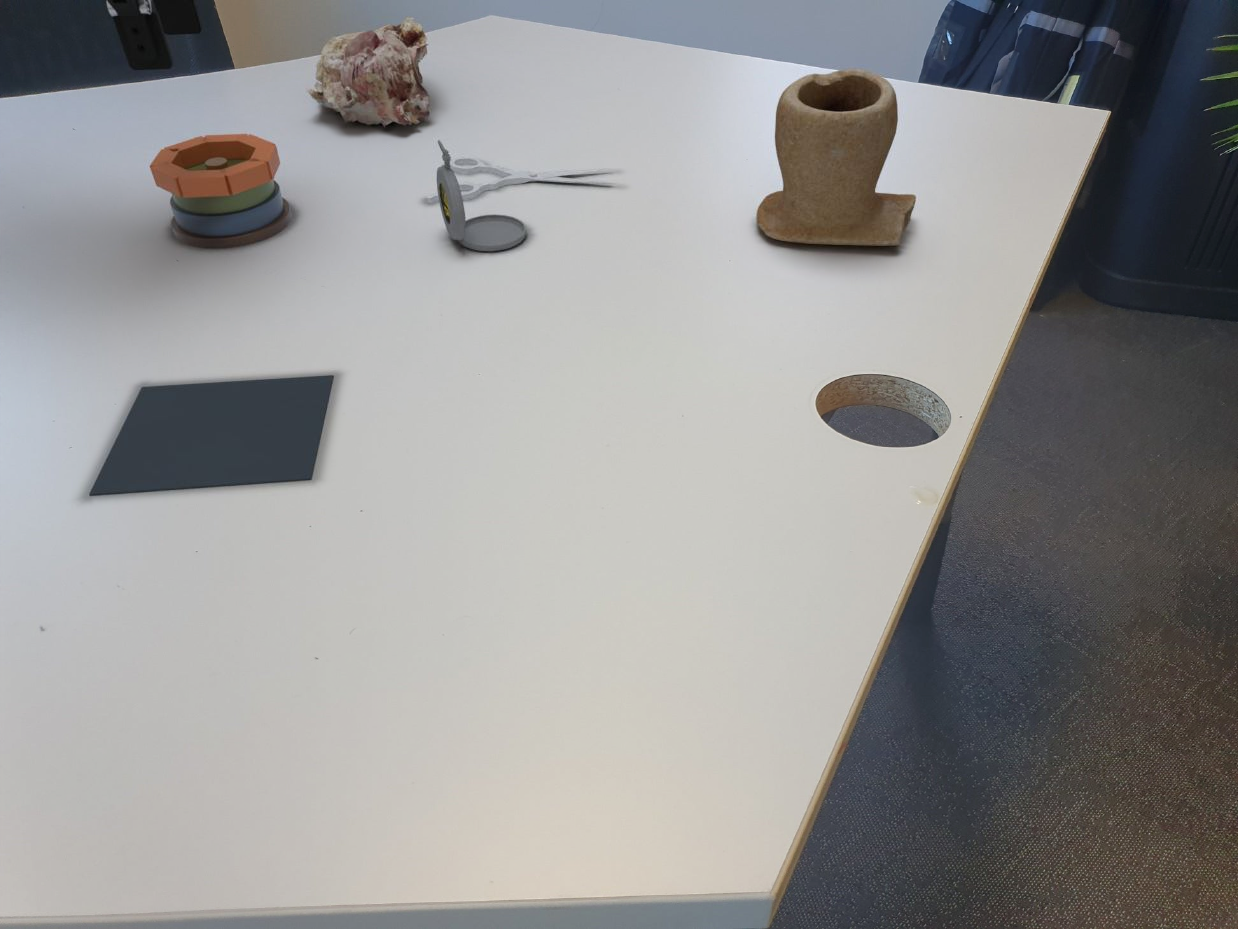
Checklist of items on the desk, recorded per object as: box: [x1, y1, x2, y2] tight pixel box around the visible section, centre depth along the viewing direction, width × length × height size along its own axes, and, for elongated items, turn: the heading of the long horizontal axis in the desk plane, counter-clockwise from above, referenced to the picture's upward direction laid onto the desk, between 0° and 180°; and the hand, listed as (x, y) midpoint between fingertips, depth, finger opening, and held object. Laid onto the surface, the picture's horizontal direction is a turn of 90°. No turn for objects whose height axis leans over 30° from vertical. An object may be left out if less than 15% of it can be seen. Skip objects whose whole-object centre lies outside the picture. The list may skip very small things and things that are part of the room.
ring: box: [149, 133, 281, 198], centre depth 85 cm, size 11×11×2 cm
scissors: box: [426, 156, 618, 204], centre depth 96 cm, size 11×1×20 cm
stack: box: [169, 158, 293, 250], centre depth 87 cm, size 11×11×6 cm
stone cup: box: [755, 68, 917, 247], centre depth 82 cm, size 15×12×15 cm
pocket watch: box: [436, 139, 527, 252], centre depth 83 cm, size 8×8×10 cm
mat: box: [88, 374, 335, 497], centre depth 63 cm, size 14×12×1 cm
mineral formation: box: [305, 17, 431, 128], centre depth 111 cm, size 23×16×10 cm
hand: (169, 50), depth 74 cm, fingers open, 9 cm apart
